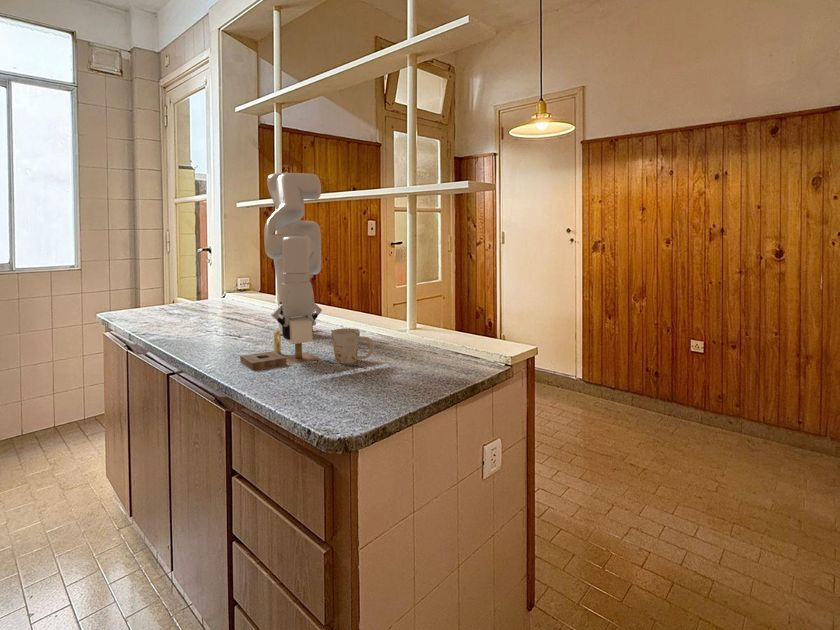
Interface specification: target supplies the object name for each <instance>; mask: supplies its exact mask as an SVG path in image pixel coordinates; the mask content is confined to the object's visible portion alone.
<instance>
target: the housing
mask: <svg viewBox="0 0 840 630" xmlns="http://www.w3.org/2000/svg"><path fill="white" fill-rule="evenodd" d="M288 326H289V327H290V339H289V340H287V339H285V338H284V337H283V340H284V341H286V342H287V343H289V344H291V345H295V344H298V343H302V344H304V343H310V342H313V333H312V319H311V318H308V317H306V316H299V317H291V318H290V320H289V324H288Z"/></svg>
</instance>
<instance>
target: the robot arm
mask: <svg viewBox="0 0 840 630" xmlns="http://www.w3.org/2000/svg"><path fill="white" fill-rule="evenodd" d="M266 181H267V182H266V183H267V189H268V192H269V195H270V197H271V199H272V201H273V204H274V208H275V211H274V212H273V213H271V215H270V216H269V217H268V219H267V220H266V222H265V225H264V229H263V235H264V236H263V237H264V238H263V239H264V242H263V243H264V250H265V251H264V252H265V254H266V255H267V257H268V258H269V259H272V260H273V265H274V271H275V276H276V286H277V287H276V289H277V307H276V308H275V310H274V311H273V312H272V313H271V317H272V318H273V319H274V320H276V321H277V322H278V327H277V328H274V331H280V336H282V337H283V339H284V338H285V339H287V340H289V339H290V327H289V326H288V324H289V320H290V318H291V317H299V316H306V317H308V318H311V319H312V334H313V332H314V331H313V330H314V329H313V327H314V326H316V325H317V321H316V319H318V316H319V315H320V313H322V310H323V309H322V308H321V307H319V306H318V304H316V303H315V295H314V294H315V293H314V289H313V285H312V282H311V279H314V275H318V274H320V272H321V270H322V234H321V232H322V231H321V229H320V225H319V224H318V222H316V221H313V220H301V219H302V218H303V217H304V216H305V212H306V211H305V200H318V199H320V197H321V195H322V183H321V180H320V178H319V176H318V175H317V174H315V173H302V172H301V173H299V172H277V173H271V174H269V175H268V176H267V180H266ZM275 232H276V233H275Z"/></svg>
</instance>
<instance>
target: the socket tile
mask: <svg viewBox="0 0 840 630" xmlns="http://www.w3.org/2000/svg"><path fill="white" fill-rule="evenodd" d="M284 356H285V355H282V354H278V353H276V352H274V351H273V350H271V351H265V352H258V353H249V354H244V355H240V356H239V359H240V360H239V361H240V363H241V365H244V366H245V367H247V368H248V369H249V370H251V371H256V370H257V371H258V370H262V369H270V368H275V367H281V366H287V364H288V363H287V359H286V357H284Z"/></svg>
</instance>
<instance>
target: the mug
mask: <svg viewBox="0 0 840 630" xmlns="http://www.w3.org/2000/svg"><path fill="white" fill-rule="evenodd" d="M330 333H331V340H332V345H333V346H332V347H333V352H334V360H335V363H339V364H352V363H356V362H357V360H358V359H359V360H361V359H362V360H365V359H368V358H369V357H371V356H372V354H373V353H374V351H375V343H374V341H373V340H372V339H371V338H370V337H369V336H360V334H361V331H360V330H359V329H358V328H357V329H356V328H335V329H333V330H331V332H330ZM360 341H361V342H367V343H368V345H369V350H368V352H367V353H366V355H358V353H359V352H358V350H359V345H360V344H359V343H360Z"/></svg>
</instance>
